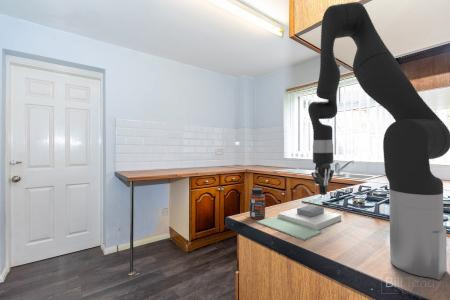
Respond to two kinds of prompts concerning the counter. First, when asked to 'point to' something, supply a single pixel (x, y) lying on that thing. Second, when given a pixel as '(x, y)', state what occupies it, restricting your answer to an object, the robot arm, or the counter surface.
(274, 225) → the mat
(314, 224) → the riser
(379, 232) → the counter surface
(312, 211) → the grey flat block
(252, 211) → the supplement bottle
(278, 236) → the counter surface
